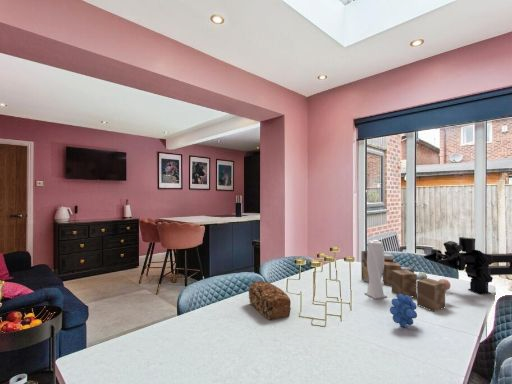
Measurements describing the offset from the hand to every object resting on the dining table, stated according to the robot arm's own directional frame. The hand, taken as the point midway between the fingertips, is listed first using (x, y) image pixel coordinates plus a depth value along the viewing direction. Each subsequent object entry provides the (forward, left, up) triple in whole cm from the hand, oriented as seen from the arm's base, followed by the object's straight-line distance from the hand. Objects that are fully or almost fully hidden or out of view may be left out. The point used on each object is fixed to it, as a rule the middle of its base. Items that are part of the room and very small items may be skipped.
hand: (430, 259), depth 133 cm
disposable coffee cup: (+5, -32, -17) cm, 36 cm away
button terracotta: (+5, +12, -11) cm, 17 cm away
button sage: (+7, 0, -11) cm, 13 cm away
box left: (+10, -16, -16) cm, 25 cm away
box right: (+11, +15, -17) cm, 25 cm away
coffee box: (+20, -20, -17) cm, 33 cm away
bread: (+81, +13, -17) cm, 83 cm away
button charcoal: (+5, -13, -11) cm, 18 cm away
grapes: (+34, +32, -17) cm, 49 cm away
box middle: (+14, 0, -16) cm, 21 cm away
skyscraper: (+29, +2, -17) cm, 33 cm away
